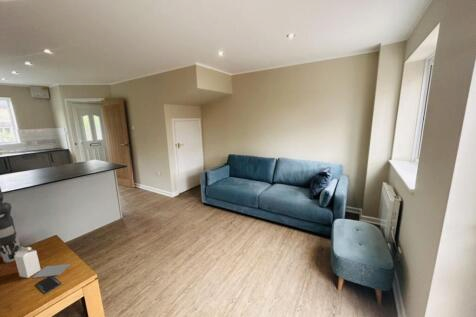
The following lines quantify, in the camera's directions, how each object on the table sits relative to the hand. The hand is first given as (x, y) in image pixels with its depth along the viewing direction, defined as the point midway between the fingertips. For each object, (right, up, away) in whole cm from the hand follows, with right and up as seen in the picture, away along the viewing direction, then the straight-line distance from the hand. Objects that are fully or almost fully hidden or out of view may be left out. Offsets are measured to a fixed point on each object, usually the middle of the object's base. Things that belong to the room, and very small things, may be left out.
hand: (12, 258), depth 125 cm
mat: (+22, -11, +4) cm, 24 cm away
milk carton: (+8, -12, +3) cm, 15 cm away
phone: (+30, -13, -7) cm, 33 cm away
